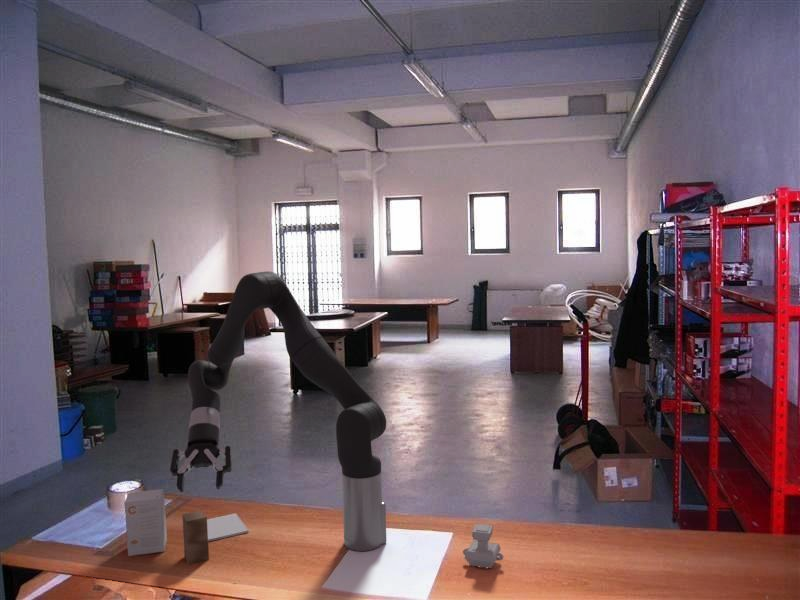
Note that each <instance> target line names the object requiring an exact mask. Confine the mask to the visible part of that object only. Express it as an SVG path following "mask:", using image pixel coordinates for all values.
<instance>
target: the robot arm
mask: <svg viewBox="0 0 800 600" xmlns="http://www.w3.org/2000/svg"><path fill="white" fill-rule="evenodd" d="M228 306H229V307H228V309H227V311H226V314H225V318H224V320H223V323H222V326H221V327H220V329H219V331H218V333H217V335H216V336H215V337H214V340H213V341H212V343H211V345H210V346H209V348H208V350H207V354H206V355H207V357H206V358H207V359H208V360H203V359H196V360H194V361H193V362H192V363H191V364H190V366H189V368H188V372H187V379H188V385H189V388H190V392H191V393H190V394H191V400H192V405H191V414H190V417H189V418H190V419H189V426H188V432H187V433H188V435H187V436H188V437H187V445H186V449H185V450H179V449H177V448H176V449H173V450H172V456H171V463H170V467H169V471H170V473H171V476H172V477H176V487H177V490H179V492H180V493H181V492H184V491H185V490H184V489H185V478H186V477H185V476H186V475H187V474H188V472H191V471H192V470H193V468H196V469H199V468H209V467H210V466H211V467H212V468H213V469H214V470H215V471H216V478H215V480H216V481H215V488H216V490H220V489H221V487H223V485H224V475H225V474H226V473H231V472H232V470H233V469H232V449H231V446H229V445H226V446H225V447H224V448H220V445H219V442H220V430H221V417H220V412H221V411H220V410H221V397H220V394H219V392H217V391H220V390H222V389H224V388H225V386H227V384H228V381H229V375H230V371H231V367H232V364H233V362H234V360H235V359H236V357H237V355H238V354H239V352H240V350H241V349H242V347H243V343H244V341H245V326H246V324H247V322H248V321H249V318H250V317H251V316H252V315H253V314H254V313H255V312H256V311H259V310H265V309H269V310H270V311H271V312H272V313H273V314H274V315H275V317H276V318H277V320H278V321H279V322H280V324H281V326H282V329H283V333H284V340H285V341H284V342H285V343H284V344H285V349H286V351H287V353H288V356H289V359H291V361H292V362H293V364H294V365H295V367H296V368H297V369H298V371H299V372H300V373H301V374H302V375H303V376H304V378H306V379H307V380H309V382H311V383H312V384H314V385H316V386H318V388H320V389H322V390H324V392H327V393H329V395H331V396H332V397H334V398H335V400H336V401H337V402H338V403H339V404H340V406H341V407H342V408H343V410H342V411H341V412H340V413H339V414H338V416H337V419H336V425H335V426H336V427H335V434H336V435H335V436H336V448H337V449H336V450H337V458H338V459H337V460H338V462H339V464H340V466H341V472H342V473H341V476H342V477H341V478H342V479H341V480H342V506H343V507H342V509H343V511H342V513H343V519H342V520H343V542H344V546H345V548H347V549H349V550H352V551H357V552H359V551H360V552H365V551H372V550H375V549H377V548H380V547H381V546H382V545H383V544H386V543H387V512H386V511H387V509H386V503H385V502H384V501H383V490H382V487H383V485H382V484H383V483H382V461H381V458H379V457H378V456H376V455H373V449H372V441H374V440H376V439H378V438H379V437H382V435H383V434H385V432H386V429H387V418H386V415H385V413H384V410H383V409H382V408H381V406H380V405H379V403H377V401H376V400H374V398H373V397H372V396H371V395H370V394H369V393H368V392H367V391H366V390H365V388H363V387H362V386H361V385H360V384H359V382H358V381H357V380H356V379H355V378H354V377H353V376H352V374H351V373H350V371H349V370H348V369H347V368H346V366H345V365H344V364H343V363H342V361H341V360H340V359H339V358H338V356H337V355H336V353H335V352H334V351H333V349H332V348H331V347H330V345H329V344H328V343H327V341H326V340H325V339H324V337H323V336H322V335H321V334H320V332H318V330H317V329H316V327H315V326H314V324H312V322H311V321H310V319H309V318H308V317H307V315H306V314H305V313H304V311H303V309H302V308H301V307H300V305H299V304H298V301H296V299H295V296H293V294H292V292H291V290H290V289H289V287H288V286H287V284H286V282H285V281H284V280H283V279H282V277H281V276H280V275H279V274H277V273H276V272H274V271H270V270H269V271H259V272H253V273H248V274H245V275H244V276H242V278H240V280H239V282H237V285H236V287H235V289H234V292H233V296H232V298H231V301H230V304H229V305H228ZM220 455H222V457H223V458H225V463H224V464H225V465H221V464H220V462H219V460H218V458H219V456H220ZM184 457H185V458H186V459H185V460H184V461H183V463H182V465H181V466H180V467H179V463H180V461H181V460H182V459H183V458H184Z"/></svg>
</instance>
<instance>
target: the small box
mask: <svg viewBox="0 0 800 600" xmlns="http://www.w3.org/2000/svg"><path fill="white" fill-rule="evenodd" d="M165 504H166V503H165V490H164V488H159V489H151V490H143V491H133V492H128V494H127V496H126V498H125V501H124V516H125V528H126V529H125V530H126V533H125V534H126V543H127V544H126V545H127V556H128V557H131V556H132V557H133V556H140V555H141V556H142V555H146V554H147V555H148V554H154V553H162V552H165V549H166V546H167V545H166V544H167V540H168V539H167V522H166V521H167V520H166V519H167V518H166V505H165Z"/></svg>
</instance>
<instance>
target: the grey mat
mask: <svg viewBox="0 0 800 600" xmlns="http://www.w3.org/2000/svg"><path fill="white" fill-rule="evenodd" d="M207 530H208V543H209V542H212V541H216V540H220V539H225V538H226V539H227V538H230V537H234V536H237V535H242V534H246V533H249V529H248V527H247V526H246V525H245V523H244V522H243V520H241V518H240V517H239V516H238V514H237V513H236V512H235V513H232V514H231V513H229V514H227V515H221V516H217V517H212V518H207Z"/></svg>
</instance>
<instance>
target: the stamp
mask: <svg viewBox="0 0 800 600" xmlns="http://www.w3.org/2000/svg"><path fill="white" fill-rule="evenodd" d="M493 526H494V525H492V524H482V523H479V524H478V523H475V524H474V526H473V529H472V532H471V533H472V534H471V537H472V539H473V540H472V541H471V543H470V545H469V547H468V548H467V547H466V548H464V549H463V550H462V554H463V556H464V560H465V561H466V562H467V563H468V564H469V565H470V566H471V565H472V566H471V567H475V566H480V567H479V568H482V567H488V568H491V569H492V567H493V566H494V565H495V563H496V562H497V561H502V560H504V555H503V554H502V553H501V552H500V551H501V546H500V543H496V542H489V541H490V539H491V537H492V535H493V531H494V527H493ZM488 568H487V569H488Z"/></svg>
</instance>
